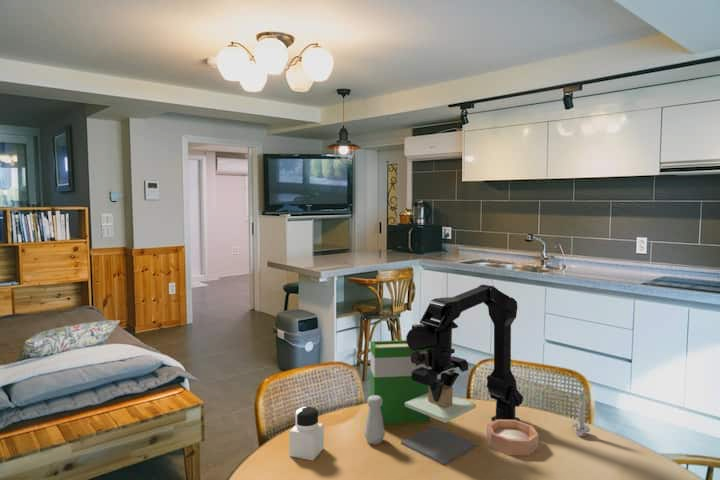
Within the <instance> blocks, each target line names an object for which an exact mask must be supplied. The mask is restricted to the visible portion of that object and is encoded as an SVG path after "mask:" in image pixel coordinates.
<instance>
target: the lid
mask: <svg viewBox="0 0 720 480" xmlns="http://www.w3.org/2000/svg"><path fill="white" fill-rule="evenodd" d="M453 390H454V389H453V386H452V387H449V386H446V385H444V384H443V387H442V391H441V394H440V398H439V401H438V402H436V401H434V398H433V395H432V392H431V389H430V387H429V393H427V394H424V395H422V396H420V397H417V398H415V399H412V400H410V401H407V402H405V406H406V407H408V408H411V409H413V410H415V411H418V412H420V413H423V414H425V415H428V416H430V418H433V419H435V420H437V421H440V422H443V423H447V422H449V421H450V422H451V421H452V420H453V419H455V418H459V416H462V415H465V414H466V413H468V412H470V411H472V410H473V409H476V408H477V404H476V403H474V402H471V401H468V400H466V399H462V398H459V397H457V396H454V395H453V393H454V392H453Z"/></svg>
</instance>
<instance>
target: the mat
mask: <svg viewBox="0 0 720 480" xmlns="http://www.w3.org/2000/svg"><path fill="white" fill-rule="evenodd" d="M400 444H401V445H403V446H404V447H406V448H408V449H411V450H413V451H415V452H417V453H418V454H421V455H423V456H426V457H427V458H429V459H431V460H433V461H435V462H437V463H439V464H441V465H442V466H445V465H446V464H448V463H449V462H451V461H453V460H455V459H456V458H459V456H462V455H464V454H465V453H466V452H468V451H470V450H472V449H473V448H475V447H477V445H478V444H477V442H474V441H472V440H470V439H467V438H464V437H462V436H460V435H457V434H455V433H453V432H451V431H449V430H446V429H443V428H441V427H439V426H437V425H432V426H430V427H429V428H426V429H424V430H422V431H419V432H417V433H415V434H414V435H411V436H410V437H407V438H405V439H403V440H402V441H400Z"/></svg>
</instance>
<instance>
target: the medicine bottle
mask: <svg viewBox="0 0 720 480" xmlns="http://www.w3.org/2000/svg"><path fill="white" fill-rule="evenodd" d="M324 432H325V427H324V424H323V423H322V422H319V411H318V409H316V408H315V407H312V406H303V407H300V408H298V409H296V411H295V425H294V426H293V427H292V428H291V429H290V430H289V433H288V435H289V436H288V443H289V447H288V448H289V452H288V455H289V457H293V458H296V459H297V458H298V459H301V460H308V461H311V462H312V461H314V460H315V459H316V458H317V456H318V455H319V454H320V453H321V452H322V451H323V450H324V447H325V446H324V445H325V439H324V434H325V433H324Z"/></svg>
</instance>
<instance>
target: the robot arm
mask: <svg viewBox="0 0 720 480" xmlns="http://www.w3.org/2000/svg"><path fill="white" fill-rule="evenodd" d="M481 304H485V306H487V309H488V316H489V318H490V319H491V321H492V323H493V370H492V371H491V373H490V374H488V375H486V376H487V377H486V382H487V383H486V388H487V391H488V393H489V397H490V399H494V400H495V401H496V403H495V415H494V416H492V417H490V418H491V421H495V420H497V419H503V420H517V421H520V420H521V419H520V418H519V417H516V407H517V408H518V407H520V406H521V405H522V404H523V401H524V396H523V395H522V394H521V392H519V390H518V388H517V387H518V386H517V379H516V378H515V376H514V374H513V372H512V368H511V367H512V364H511V362H512V360H511V359H512V358H511V357H512V353H511V352H512V325H513V322H514V321H515V320H516V318H517V313H518V302H517V300H516V299H515V298H513V297H510V296H509V295H507V294H506V293H503V292H502V291H500V290H499V289H498V288H497V287H496V286H495V285H494V286H493V285H488V284H480V285H479V286H477V287H475V288H472V289H470V290H467V291H465V292H462V293H460V294H457V295H455V296H452V297H450V296H449V297H448V296H447V297H438V298H437V297H436V298H433V299H431V300H430V301H429V304H428V305H427V307H426V309H425V312H424V313H423V315H422V317H421V319H420V321H419V324H412V325H411V329H410V330H409V331H408V332H407V335H406V336H405V337H406V339H405V340H407V344H408V346H409V348H410V349H411V350H412V351H415V352H412V353H411V362H412V363H413V364H416V366H418V365H421V364H425V366H427V367H431V369H427V368H424V367H421V368H418V369H415V370H413V371H412V372H411V379H412V380H414V381H416V382H419V383H422V384H425V385H429V387H430V389H431V392H432V395H433V398H434V401H436V402H438V401H439V398H440V394H441V391H442V387H443V384H444V385H446V386H449V387H452V388H453V386H454V384H455V382H456V380H457V379H458V377H460V373H458V372H456V370H455V369H457V368H459V371H460V372H462V373H464V372H467V371H468V370H469V362H468V361H467V360H466V358H465V359H464V358H461V357H457V356H452V354H454V353H455V351H456V350H455V348H452V345H453V344H452V342H453V341H452V340H453V339H452V338H453V330H454V329H457V328H459V325H458V324H457V323H455V322H454V321H456V320H457V319H458V318H459V317H460V316H461V313H462V312H464V311H466V310H469V309H471V308H474V307H476V306H478V305H481ZM423 349H427V351H425V352H421V353H420V352H419V350H423Z"/></svg>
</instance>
